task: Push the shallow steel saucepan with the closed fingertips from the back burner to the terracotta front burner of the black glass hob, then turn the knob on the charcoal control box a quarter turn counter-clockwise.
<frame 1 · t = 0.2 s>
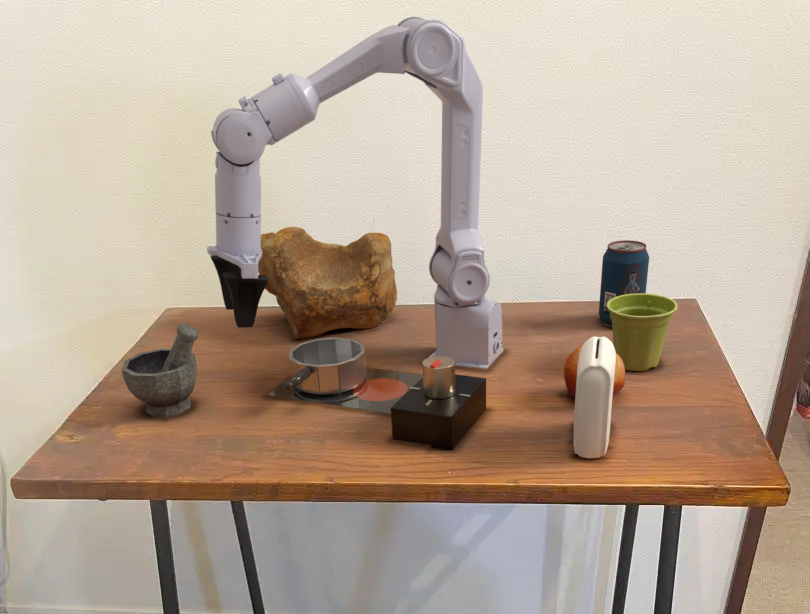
hand: (239, 317, 119), 10 cm above the table, tool pointing down, fingers open, 7 cm apart
plant pot: (636, 365, 125), on the table
saucepan: (330, 382, 124), resting on hob
control box: (440, 425, 112), on the table
mortar and pestle: (174, 410, 121), on the table
fruit: (592, 398, 116), on the table
soda can: (620, 323, 139), on the table
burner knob: (439, 376, 108), point 7 cm above the table, hinge at 0.0°
rough brown rock: (324, 329, 144), on the table
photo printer: (591, 441, 106), on the table
hob: (355, 388, 123), on the table
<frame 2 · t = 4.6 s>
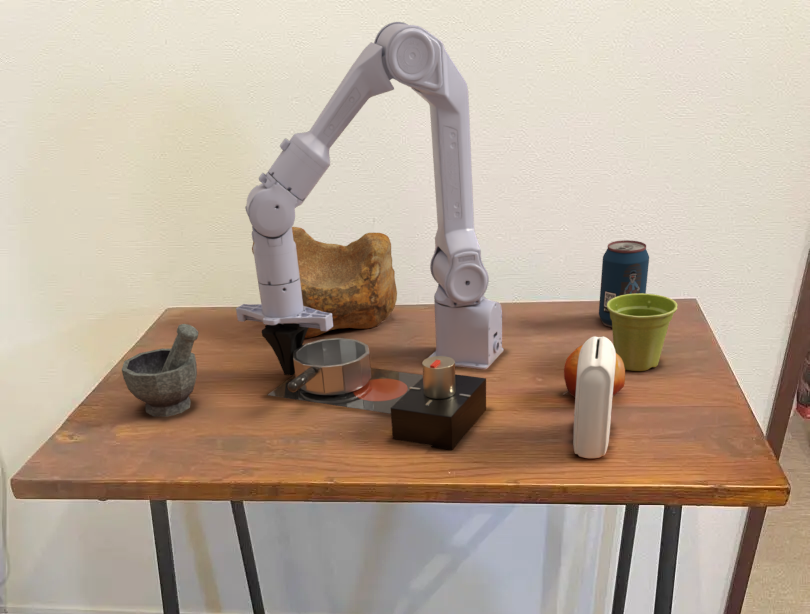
hand: (291, 372, 126), 1 cm above the table, tool pointing down, fingers closed
saucepan: (334, 383, 124), resting on hob, touching gripper
everything else where it was.
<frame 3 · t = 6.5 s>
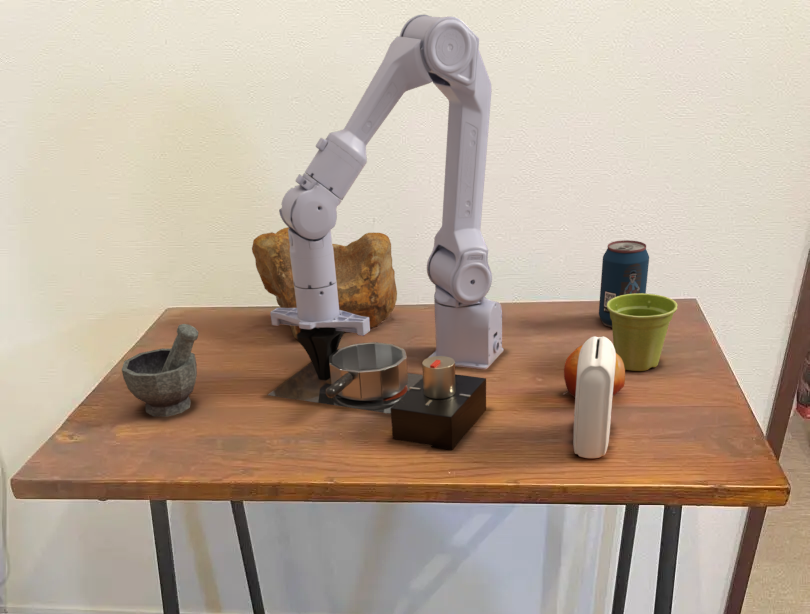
hand: (325, 377, 124), 1 cm above the table, tool pointing down, fingers closed
saucepan: (370, 388, 122), resting on hob, touching gripper
everything else where it was.
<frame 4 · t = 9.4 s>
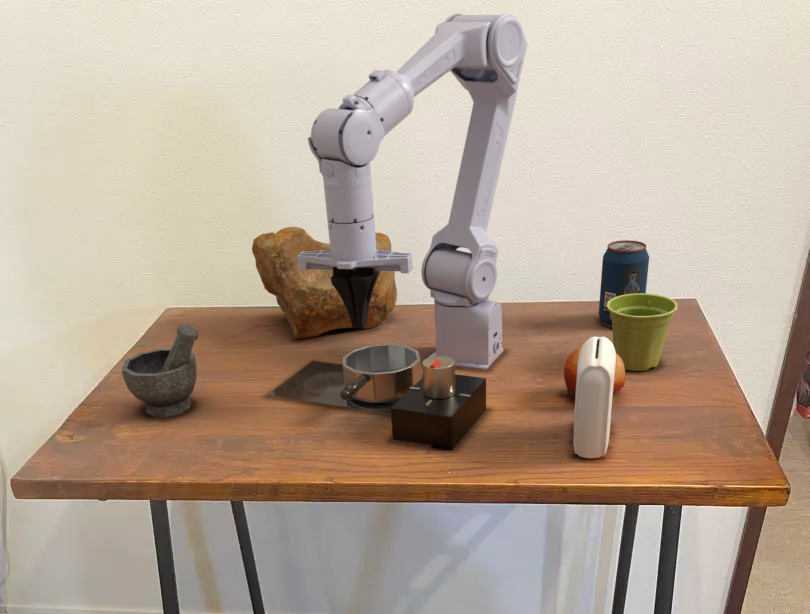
hand: (359, 325, 114), 10 cm above the table, tool pointing down, fingers closed
saucepan: (383, 390, 121), resting on hob
everything else where it was.
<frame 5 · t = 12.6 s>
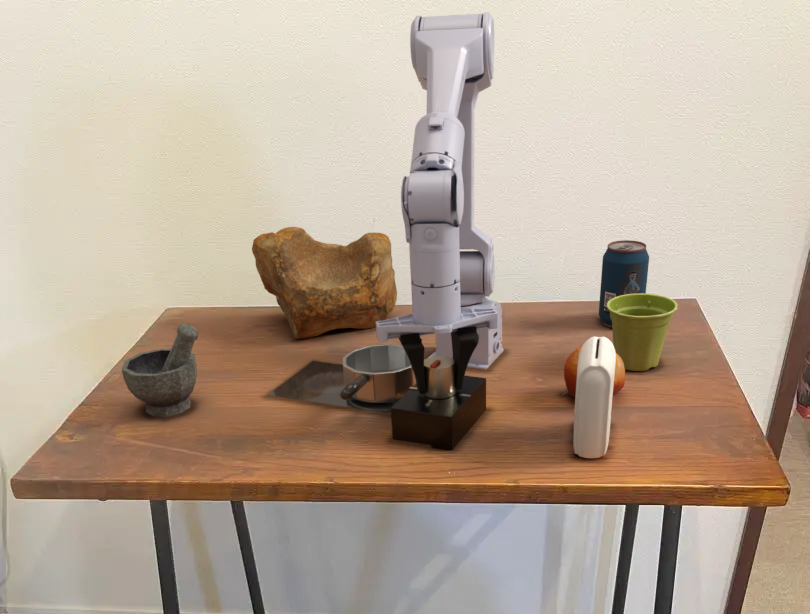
hand: (439, 388, 109), 5 cm above the table, tool pointing down, fingers closed on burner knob, 4 cm apart
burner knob: (439, 376, 108), point 7 cm above the table, hinge at 0.0°, touching gripper
everything else where it was.
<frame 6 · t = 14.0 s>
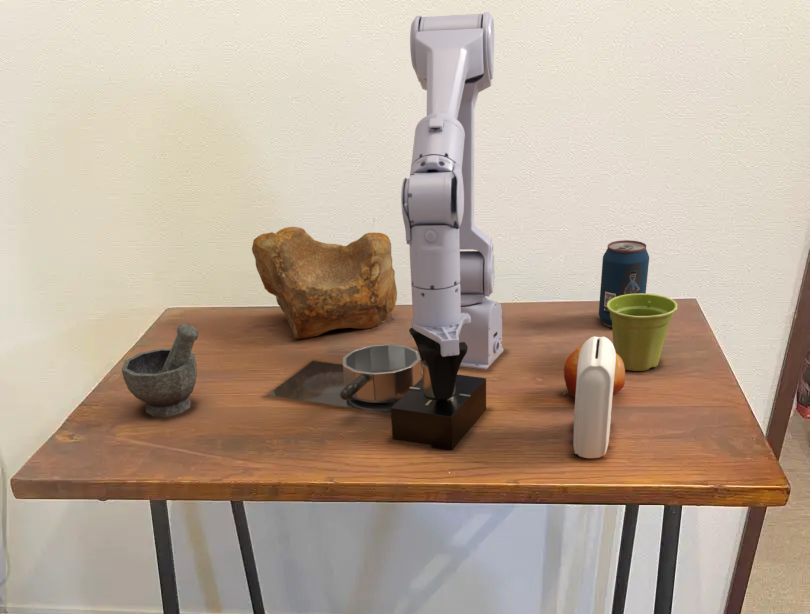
hand: (439, 390, 109), 5 cm above the table, tool pointing down, fingers closed on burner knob, 4 cm apart
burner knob: (439, 376, 108), point 7 cm above the table, hinge at 89.9°, touching gripper
everything else where it was.
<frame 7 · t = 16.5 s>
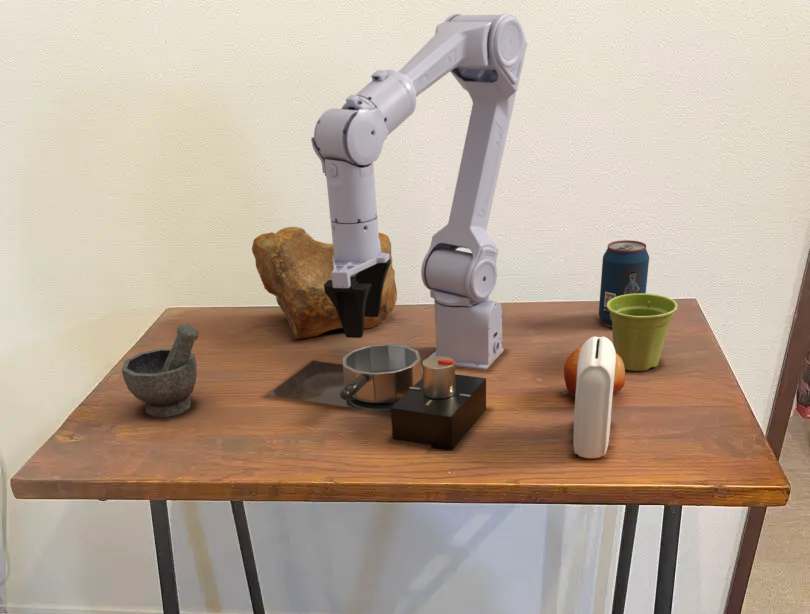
hand: (362, 326, 114), 10 cm above the table, tool pointing down, fingers open, 7 cm apart
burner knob: (439, 376, 108), point 7 cm above the table, hinge at 89.7°
everything else where it was.
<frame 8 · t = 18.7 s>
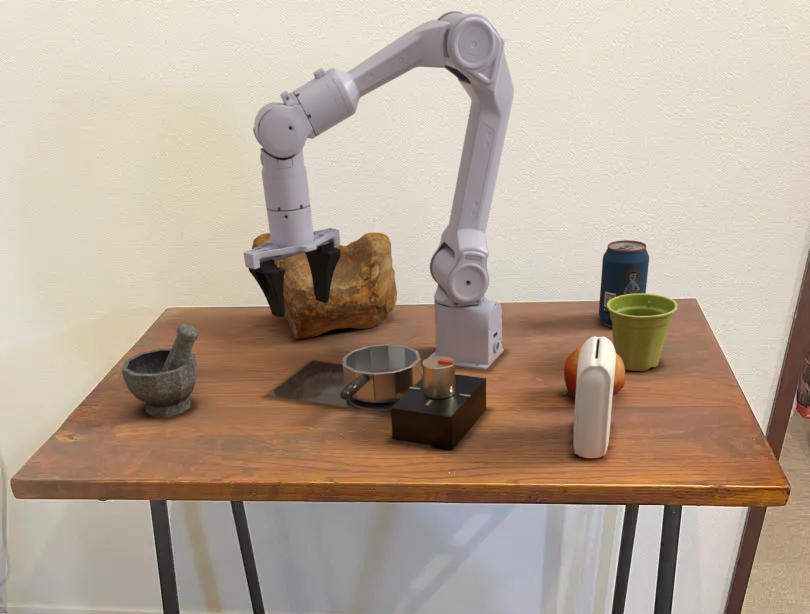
hand: (300, 308, 121), 10 cm above the table, tool pointing down, fingers open, 7 cm apart
nothing on the table moved.
at the end: saucepan 0.5 cm from the target spot on the hob, point 0.3 cm above the hob's base; saucepan tilted 0°; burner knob at +90° (first picture: +0°) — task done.
